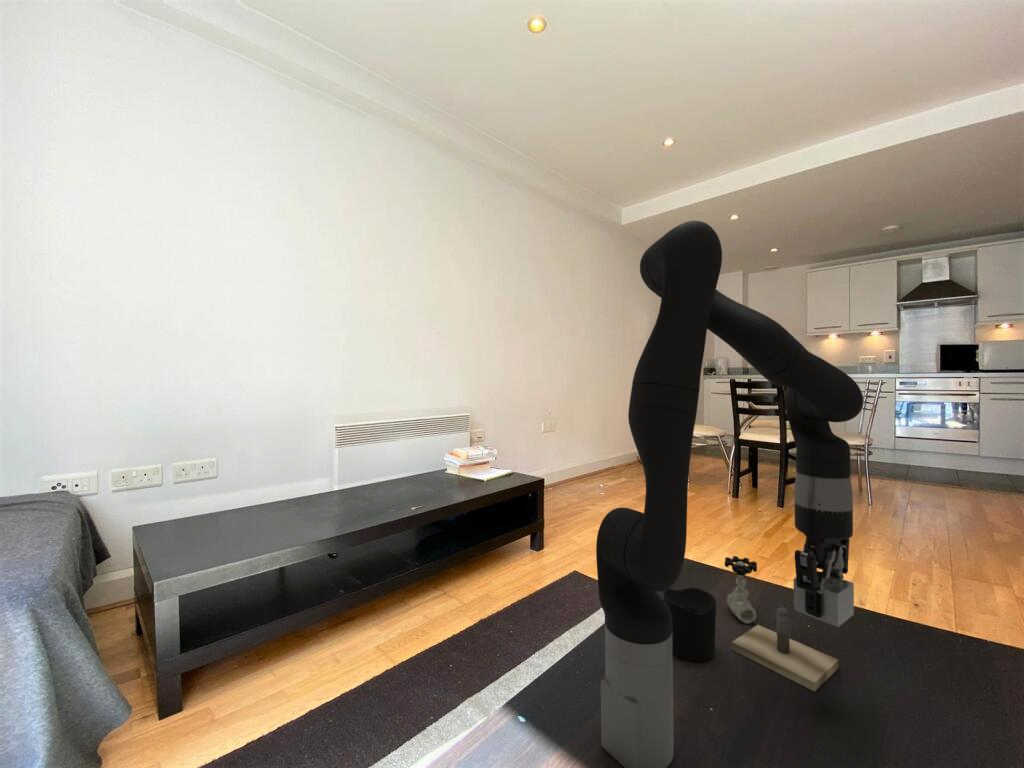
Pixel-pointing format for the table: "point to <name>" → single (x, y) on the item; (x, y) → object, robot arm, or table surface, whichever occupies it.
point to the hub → (830, 601)
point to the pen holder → (692, 623)
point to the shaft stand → (786, 654)
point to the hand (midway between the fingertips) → (823, 608)
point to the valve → (741, 589)
